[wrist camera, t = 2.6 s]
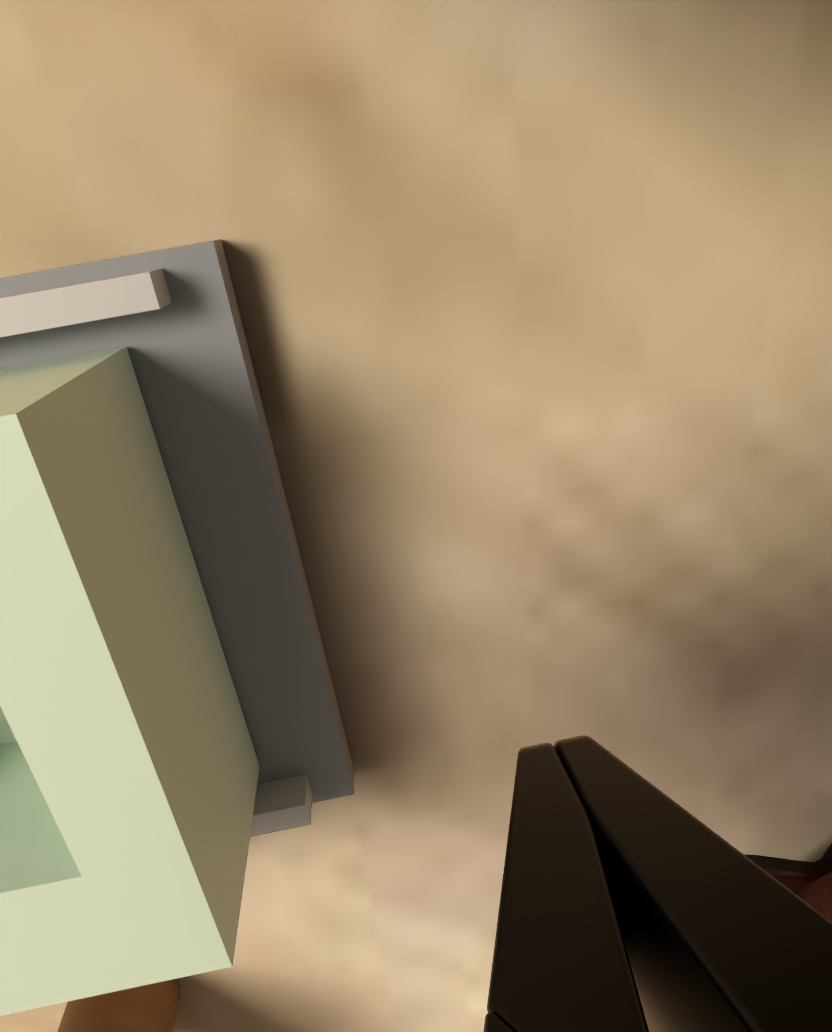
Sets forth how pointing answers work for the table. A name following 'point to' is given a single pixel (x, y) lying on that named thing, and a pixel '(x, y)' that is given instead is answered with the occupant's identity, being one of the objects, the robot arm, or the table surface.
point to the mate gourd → (803, 879)
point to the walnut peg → (125, 1010)
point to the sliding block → (108, 704)
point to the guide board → (210, 490)
